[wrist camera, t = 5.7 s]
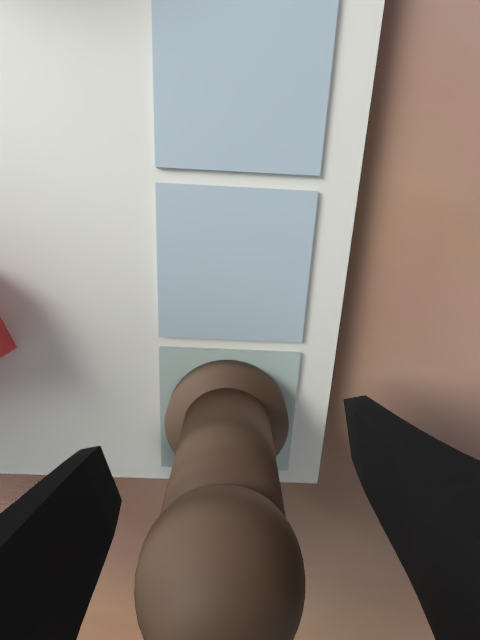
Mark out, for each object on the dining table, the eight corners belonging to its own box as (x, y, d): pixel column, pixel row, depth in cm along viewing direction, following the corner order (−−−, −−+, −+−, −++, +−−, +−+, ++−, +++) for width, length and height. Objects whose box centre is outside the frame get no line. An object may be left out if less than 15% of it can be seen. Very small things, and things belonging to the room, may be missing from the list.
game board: (-68, 452, 14) (-106, 482, 12) (-384, -809, 6) (-590, -1147, 5) (312, 464, 14) (321, 495, 13) (466, -707, 7) (536, -987, 5)
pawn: (169, 459, 13) (92, 755, 6) (168, 357, 12) (68, 577, 5) (280, 463, 13) (332, 758, 6) (290, 362, 12) (370, 584, 5)
